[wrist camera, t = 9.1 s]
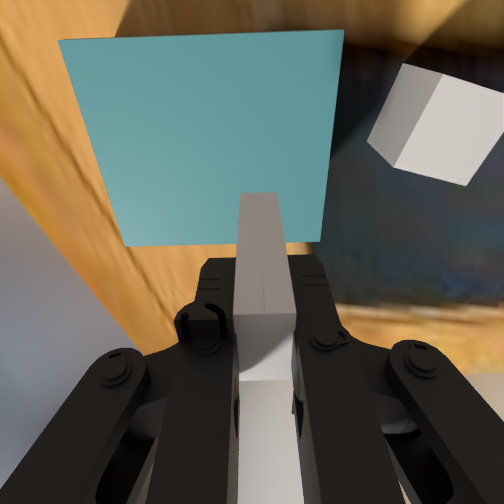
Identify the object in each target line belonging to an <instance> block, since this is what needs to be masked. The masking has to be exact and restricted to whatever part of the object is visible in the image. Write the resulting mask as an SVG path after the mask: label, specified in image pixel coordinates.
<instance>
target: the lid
mask: <svg viewBox="0 0 504 504" xmlns="http://www.w3.org/2000/svg"><path fill="white" fill-rule="evenodd" d="M343 38H344V30H342V29H334V30H306V31H279V32H251V33H224V34H196V35H169V36H141V37H114V38H86V39H64V40H58V43H59V46H60V49H61V52H62V55H63V58H64V62H65V65H66V68H67V71H68V74H69V77H70V80H71V83H72V86H73V89H74V92H75V95H76V98H77V101H78V104H79V107H80V110H81V114H82V117H83V120H84V123H85V126H86V129H87V132H88V135H89V138H90V141H91V144H92V147H93V150H94V153H95V156H96V159H97V163H98V166H99V169H100V172H101V175H102V178H103V181H104V184H105V187H106V190H107V193H108V196H109V199H110V202H111V205H112V208H113V211H114V215H115V218H116V221H117V224H118V227H119V230H120V233H121V236H122V239H123V242H124V245H125V247H129V246H167V245H206V244H237V235H238V217H239V200H240V193H265V192H277V195H278V201H279V208H280V214H281V220H282V226H283V233H284V239H285V242H320V235H321V226H322V218H323V209H324V201H325V192H326V184H327V175H328V167H329V158H330V149H331V141H332V132H333V124H334V115H335V107H336V98H337V89H338V81H339V72H340V64H341V55H342V47H343Z"/></svg>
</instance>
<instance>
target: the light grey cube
mask: <svg viewBox="0 0 504 504" xmlns="http://www.w3.org/2000/svg"><path fill="white" fill-rule="evenodd" d="M503 132H504V93H501V92H498V91H495V90H491V89H488V88H485V87H482V86H479V85H476V84H473V83H470V82H467V81H463V80H460V79H457V78H454V77H451V76H448V75H445V74H441V73H438V72H434V71H430V70H427V69H423V68H419V67H415V66H412V65H408V64H404V63H403V64H402V67H401V69H400V71H399V73H398V75H397V77H396V80H395V82H394V84H393V86H392V88H391V90H390V93H389V95H388V97H387V99H386V101H385V103H384V106H383V108H382V110H381V112H380V114H379V116H378V119H377V121H376V123H375V125H374V127H373V129H372V131H371V134H370V136H369V138H368V140H367V142H368V143H369V144H370V145H371V146H372V147H373V148H374V149H375V150H376V151H377V152H378V153H379V154H380V155H381V156H382V157H383V158H384V159H386V160H387V161H388V162H389V163H390V164H391V165H392V166H393V167H394V168H398V169H402V170H406V171H410V172H414V173H418V174H421V175H425V176H429V177H433V178H437V179H441V180H445V181H449V182H452V183H456V184H460V185H464V186H466V185H467V184H468V182H469V181H470V179H471V178H472V177H473V175H474V174H475V172H476V171H477V169H478V168H479V166H480V165H481V164H482V162H483V161H484V159H485V158H486V156H487V155H488V154H489V152H490V151H491V149H492V148H493V146H494V145H495V144H496V142H497V141H498V139H499V138H500V136H501V135H502V133H503Z"/></svg>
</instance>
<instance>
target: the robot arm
mask: <svg viewBox="0 0 504 504" xmlns="http://www.w3.org/2000/svg"><path fill="white" fill-rule="evenodd" d="M174 324H175V328H176V332H177V336H178V340H179V342H178V343H176V344H175V345H173V346H172V347H170V348H167V349H165V350H162V351H159V352H156V353H152V354H149V355H146V356H143V355H142V354H141V353H140V351H137V350H135V349H133V348H119V349H115V350H112V351H109V352H107V353H106V354H104V355H102V356H101V357H99V358H98V359H97V360H96V361H95V362H94V363H93V364H92V365H91V366H90V367H89V369H88V370H87V372H86V373H85V375H84V376H83V377H82V378H81V380H80V381H79V382H78V384H77V385H76V387H75V388H74V389H73V391H72V392H71V394H70V395H69V396H68V398H67V399H66V400H65V402H64V403H63V404H62V406H61V407H60V408H59V410H58V411H57V413H56V414H55V415H54V417H53V418H52V420H51V421H50V422H49V424H48V425H47V426H46V428H45V429H44V430H43V432H42V433H41V434H40V436H39V437H38V439H37V440H36V441H35V443H34V444H33V445H32V447H31V448H30V449H29V451H28V452H27V454H26V455H25V456H24V458H23V459H22V460H21V462H20V463H19V464H18V466H17V467H16V469H15V470H14V471H13V473H12V474H11V475H10V477H9V478H8V480H7V481H6V482H5V484H4V485H3V486H2V488H1V489H0V504H135V503H136V500H137V498H138V496H139V493H140V491H141V489H142V487H143V484H144V482H145V480H146V477H147V475H148V473H149V470H150V468H151V466H152V464H153V461H154V465H153V470H152V475H151V479H150V484H149V489H148V493H147V498H146V502H145V504H237V499H238V456H239V452H238V451H239V412H240V410H239V409H240V399H239V381H250V380H251V381H252V380H291V379H292V378H293V387H294V391H293V404H292V414H294V415H295V423H296V433H297V442H298V450H299V459H300V467H301V468H300V469H301V478H302V486H303V496H304V504H406V503H405V500H404V497H403V494H402V491H401V487H400V484H401V485H402V487H403V489H404V491H405V493H406V495H407V497H408V499H409V501H410V502H411V504H504V422H503V420H502V419H501V418H500V417H499V416H498V415H497V414H496V412H495V411H494V410H493V409H492V408H491V407H490V406H489V404H488V403H487V402H486V401H485V400H484V399H483V398H482V397H481V395H480V394H479V393H478V392H477V391H476V390H475V389H474V387H473V386H472V385H471V384H470V383H469V382H468V381H467V379H466V378H465V377H464V376H463V375H462V374H461V373H460V371H459V370H458V369H457V368H456V367H455V366H454V365H453V364H452V362H451V361H450V360H449V359H448V358H447V357H446V356H445V355H444V354H443V353H442V352H440V351H439V350H438V349H437V348H435V347H433V346H431V345H429V344H427V343H425V342H421V341H417V340H402V341H400V342H398V343H396V344H394V346H393V347H392V349H387V348H383V347H379V346H374V345H370V344H367V343H364V342H361V341H359V340H358V339H356V338H354V337H353V336H351V335H350V333H349V332H348V331H347V330H346V329H345V328H344V327H343V326H342V324H341V322H340V320H339V317H338V313H337V310H336V307H335V303H334V300H333V297H332V293H331V290H330V287H329V283H328V280H327V277H326V273H325V270H324V267H323V264H322V263H321V262H320V261H319V259H318V258H317V257H316V256H315V255H314V254H307V255H287V251H286V245H285V239H284V233H283V226H282V220H281V214H280V208H279V201H278V195H277V192H265V193H240V200H239V217H238V235H237V252H236V257H234V258H209V259H208V260H207V261H206V263H205V264H204V265H203V266H202V267H201V271H200V276H199V281H198V286H197V291H196V296H195V301H194V302H192V303H190V304H187V305H185V306H184V307H183V308H182V309H181V310H180V311H179V312H178V313H177V315H176V317H175V319H174ZM154 459H155V460H154ZM398 480H399V481H398ZM399 482H400V484H399Z"/></svg>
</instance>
